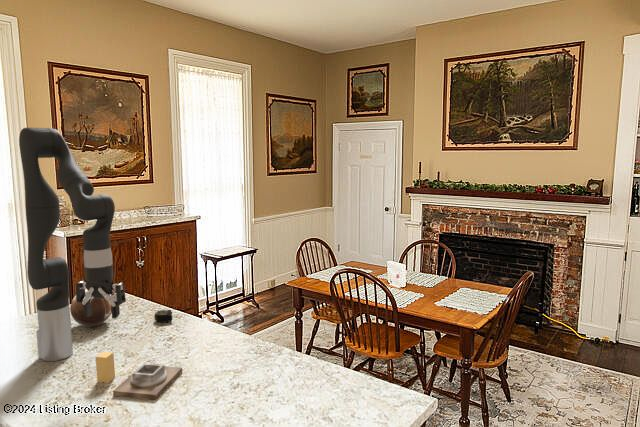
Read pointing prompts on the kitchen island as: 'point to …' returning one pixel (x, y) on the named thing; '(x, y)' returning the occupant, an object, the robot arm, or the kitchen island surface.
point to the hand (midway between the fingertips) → (102, 316)
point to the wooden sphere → (99, 311)
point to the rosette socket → (148, 381)
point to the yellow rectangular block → (105, 367)
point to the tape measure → (163, 316)
